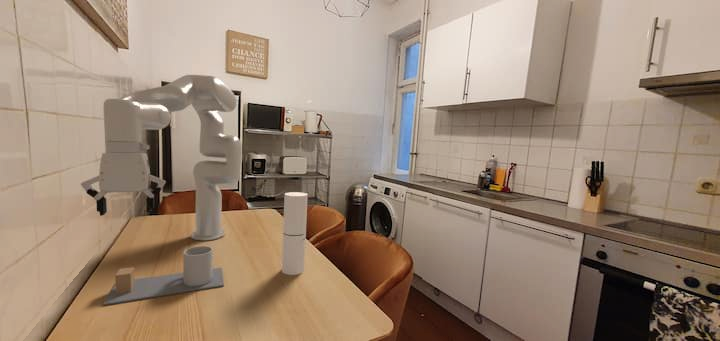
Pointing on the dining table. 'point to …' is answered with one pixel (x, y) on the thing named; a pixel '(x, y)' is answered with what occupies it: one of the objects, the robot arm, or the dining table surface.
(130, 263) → the dining table surface
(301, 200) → the cylindrical container
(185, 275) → the cup
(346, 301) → the dining table surface
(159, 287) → the strip
